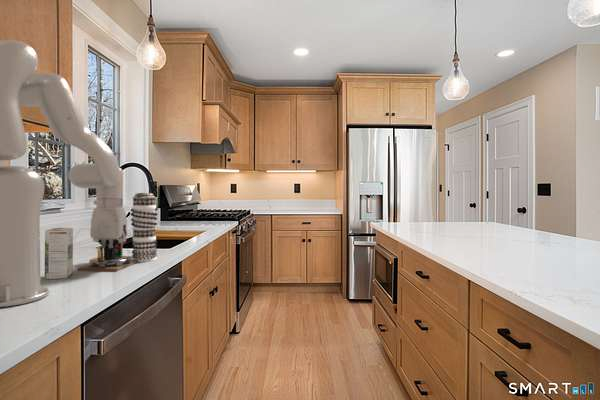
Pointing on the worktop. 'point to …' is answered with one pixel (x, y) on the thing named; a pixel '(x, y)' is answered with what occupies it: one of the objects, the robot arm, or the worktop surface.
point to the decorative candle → (144, 227)
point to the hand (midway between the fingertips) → (109, 259)
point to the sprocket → (102, 263)
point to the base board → (107, 268)
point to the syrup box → (58, 253)
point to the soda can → (118, 249)
